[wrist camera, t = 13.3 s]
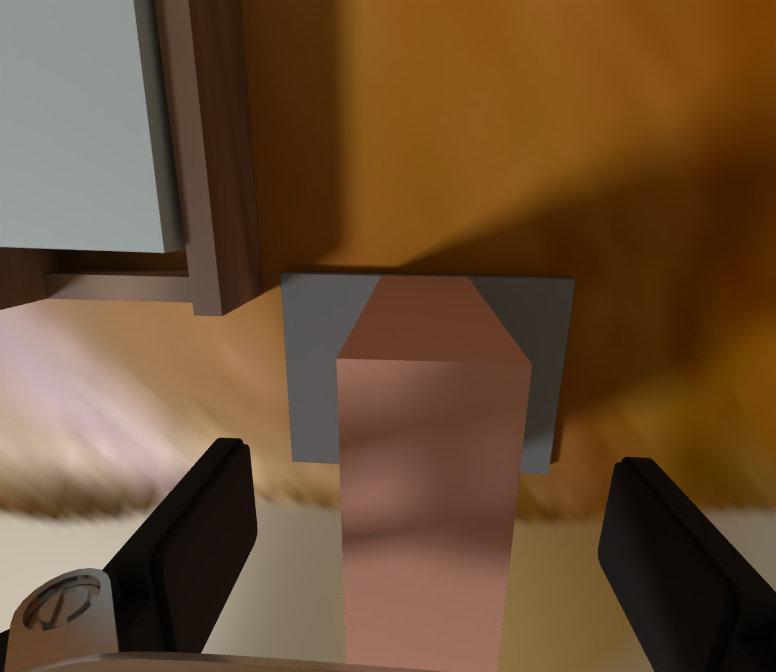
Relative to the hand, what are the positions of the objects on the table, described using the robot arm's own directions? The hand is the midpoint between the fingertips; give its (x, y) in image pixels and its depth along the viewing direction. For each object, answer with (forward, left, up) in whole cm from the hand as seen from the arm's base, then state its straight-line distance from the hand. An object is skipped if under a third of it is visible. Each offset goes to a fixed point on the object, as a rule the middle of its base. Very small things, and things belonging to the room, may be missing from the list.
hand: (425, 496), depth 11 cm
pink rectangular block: (0, 0, -8) cm, 8 cm away
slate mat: (0, 0, -9) cm, 9 cm away
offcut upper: (+11, -10, -7) cm, 16 cm away
